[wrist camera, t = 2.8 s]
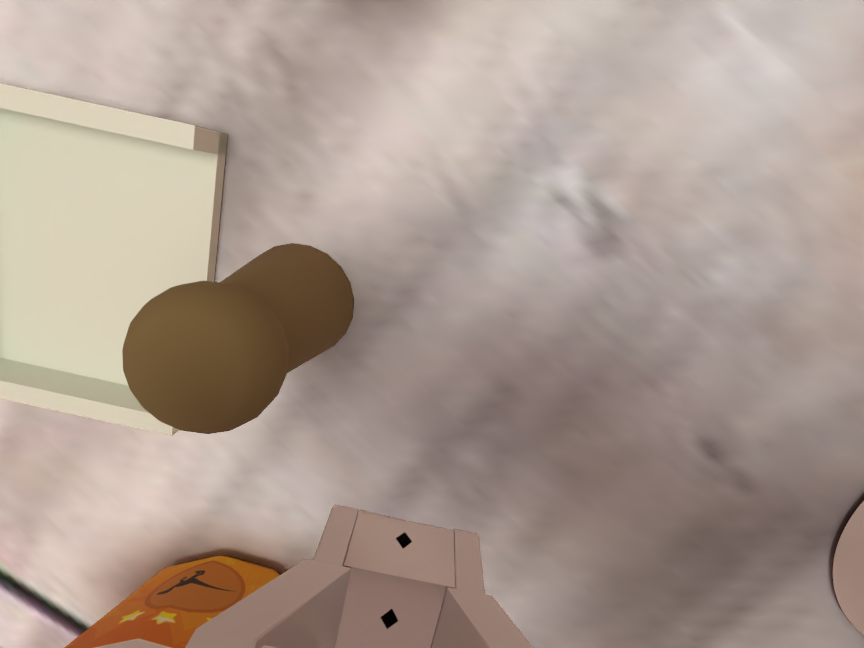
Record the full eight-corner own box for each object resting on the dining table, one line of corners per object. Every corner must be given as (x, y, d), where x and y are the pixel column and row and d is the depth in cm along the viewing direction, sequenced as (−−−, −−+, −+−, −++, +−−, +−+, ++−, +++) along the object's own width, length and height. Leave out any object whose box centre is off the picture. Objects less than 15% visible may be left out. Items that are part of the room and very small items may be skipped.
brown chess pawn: (253, 228, 25) (95, 251, 14) (366, 263, 25) (296, 312, 14) (232, 337, 26) (76, 432, 16) (339, 369, 26) (257, 485, 16)
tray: (227, 134, 23) (194, 125, 21) (202, 410, 27) (172, 435, 24) (-13, 82, 23) (-80, 66, 21) (-4, 365, 27) (-59, 385, 24)
